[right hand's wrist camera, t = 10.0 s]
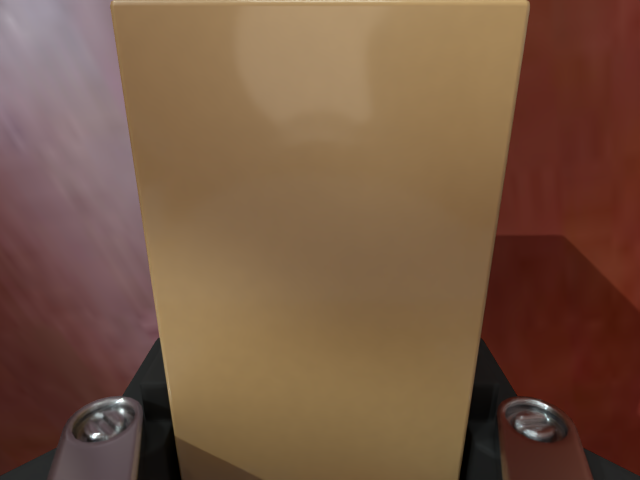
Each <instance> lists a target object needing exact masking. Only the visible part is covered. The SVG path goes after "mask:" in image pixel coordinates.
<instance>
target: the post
mask: <svg viewBox="0 0 640 480" xmlns="http://www.w3.org/2000/svg"><path fill="white" fill-rule="evenodd" d="M110 7H111V14H112V21H113V27H114V34H115V41H116V48H117V54H118V61H119V68H120V74H121V81H122V88H123V94H124V101H125V108H126V114H127V121H128V128H129V135H130V141H131V148H132V155H133V161H134V168H135V175H136V181H137V188H138V195H139V201H140V208H141V215H142V221H143V228H144V235H145V242H146V248H147V255H148V262H149V268H150V275H151V282H152V288H153V295H154V302H155V308H156V315H157V322H158V329H159V335H160V342H161V349H162V355H163V362H164V369H165V375H166V382H167V389H168V395H169V402H170V409H171V415H172V422H173V429H174V436H175V442H176V449H177V456H178V462H179V469H180V476H181V480H459V477H460V470H461V464H462V457H463V450H464V444H465V437H466V430H467V424H468V417H469V410H470V404H471V397H472V390H473V384H474V377H475V370H476V364H477V357H478V350H479V344H480V337H481V330H482V324H483V317H484V310H485V304H486V297H487V290H488V284H489V277H490V270H491V264H492V257H493V250H494V243H495V237H496V230H497V223H498V217H499V210H500V203H501V197H502V190H503V183H504V177H505V170H506V163H507V157H508V150H509V143H510V137H511V130H512V123H513V117H514V110H515V103H516V97H517V90H518V83H519V77H520V70H521V63H522V57H523V50H524V43H525V37H526V30H527V23H528V16H529V10H530V3H529V1H527V0H113V1H111V5H110Z"/></svg>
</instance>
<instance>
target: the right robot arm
mask: <svg viewBox="0 0 640 480" xmlns="http://www.w3.org/2000/svg"><path fill="white" fill-rule="evenodd" d="M0 480H181V476H180V469H179V462H178V456H177V449H176V442H175V436H174V429H173V422H172V415H171V409H170V402H169V395H168V389H167V382H166V375H165V369H164V362H163V355H162V349H161V342H160V338H158V339H157V340H156V342H155V343H154V345H153V347H152V348H151V350H150V351H149V353H148V355H147V356H146V358H145V360H144V361H143V363H142V365H141V366H140V368H139V369H138V371H137V373H136V374H135V376H134V378H133V379H132V381H131V383H130V384H129V386H128V387H127V389H126V391H125V392H124V394H123V396H116V397H108V398H104V399H100V400H97V401H94V402H92V403H90V404H88V405H86V406H84V407H83V408H81V409H80V410H78V411H77V412H75V413H74V414H73V415H72V416H71V417H70V418H69V419H68V421H67V423H66V424H65V426H64V428H63V431H62V434H61V437H60V440H59V443H58V446H57V448H55V449H53V450H51V451H49V452H47V453H45V454H43V455H41V456H39V457H37V458H35V459H33V460H31V461H29V462H27V463H25V464H23V465H21V466H19V467H17V468H15V469H13V470H11V471H10V472H8V473H6V474H4V475H2V476H0ZM459 480H640V476H638V475H636V474H634V473H632V472H630V471H628V470H626V469H624V468H622V467H620V466H618V465H616V464H614V463H612V462H610V461H608V460H606V459H604V458H602V457H600V456H598V455H596V454H594V453H592V452H590V451H588V450H586V449H584V448H583V446H582V443H581V440H580V437H579V434H578V431H577V428H576V426H575V424H574V423H573V421H572V419H571V418H570V417H569V416H568V415H567V414H566V413H565V412H563V411H562V410H560V409H559V408H557V407H556V406H554V405H552V404H550V403H548V402H546V401H543V400H540V399H536V398H532V397H524V396H517V395H516V393H515V391H514V390H513V388H512V387H511V385H510V383H509V382H508V380H507V378H506V377H505V375H504V374H503V372H502V370H501V369H500V367H499V365H498V364H497V362H496V360H495V359H494V357H493V356H492V354H491V352H490V351H489V349H488V347H487V346H486V344H485V342H484V341H483V340H482V339H481V338H480V344H479V350H478V357H477V364H476V370H475V377H474V384H473V390H472V397H471V404H470V410H469V417H468V424H467V430H466V437H465V444H464V450H463V457H462V464H461V470H460V477H459Z"/></svg>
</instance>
